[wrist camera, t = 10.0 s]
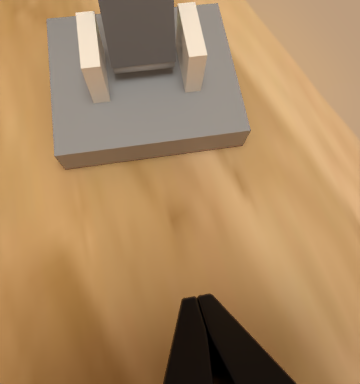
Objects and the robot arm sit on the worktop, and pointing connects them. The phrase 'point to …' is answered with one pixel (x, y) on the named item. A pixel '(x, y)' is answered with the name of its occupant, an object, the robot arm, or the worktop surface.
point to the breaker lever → (139, 34)
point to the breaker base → (143, 93)
